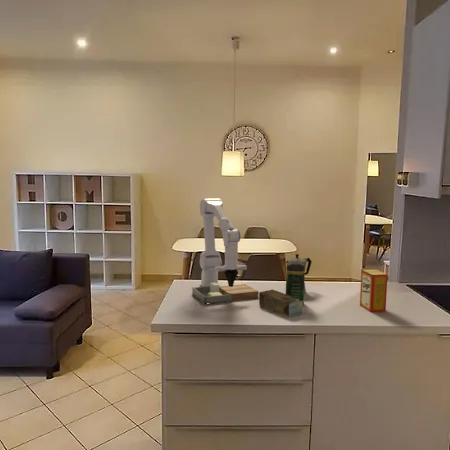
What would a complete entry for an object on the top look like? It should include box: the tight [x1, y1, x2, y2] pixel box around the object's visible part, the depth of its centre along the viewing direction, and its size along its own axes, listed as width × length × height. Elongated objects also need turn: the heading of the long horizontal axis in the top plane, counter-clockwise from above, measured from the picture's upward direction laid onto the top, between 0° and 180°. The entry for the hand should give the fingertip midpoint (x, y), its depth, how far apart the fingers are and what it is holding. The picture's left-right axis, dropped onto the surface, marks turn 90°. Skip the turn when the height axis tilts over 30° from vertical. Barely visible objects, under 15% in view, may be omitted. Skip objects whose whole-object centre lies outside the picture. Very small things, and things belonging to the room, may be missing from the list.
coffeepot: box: [285, 253, 312, 293], centre depth 204 cm, size 15×9×18 cm, turn 118°
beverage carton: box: [258, 289, 304, 318], centre depth 174 cm, size 8×19×7 cm, turn 34°
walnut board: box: [219, 283, 259, 302], centre depth 195 cm, size 14×14×3 cm
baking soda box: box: [359, 269, 388, 313], centre depth 176 cm, size 10×6×16 cm
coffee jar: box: [285, 260, 306, 302], centre depth 182 cm, size 10×8×19 cm
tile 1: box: [210, 282, 220, 293], centre depth 193 cm, size 5×5×2 cm
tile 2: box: [208, 292, 222, 296], centre depth 185 cm, size 5×5×2 cm
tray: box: [191, 286, 232, 305], centre depth 190 cm, size 17×12×3 cm
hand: (230, 286), depth 188 cm, fingers closed
